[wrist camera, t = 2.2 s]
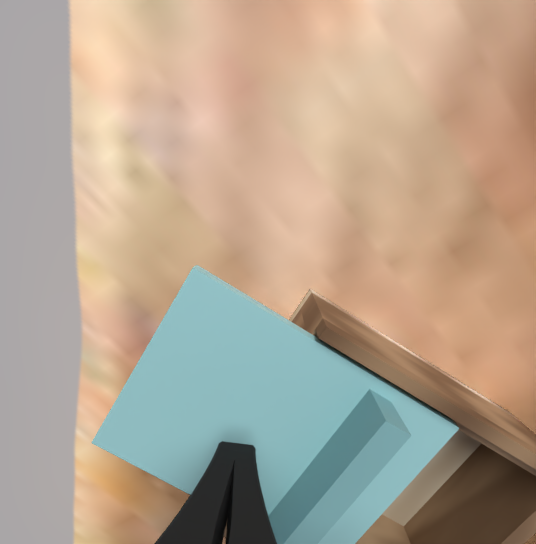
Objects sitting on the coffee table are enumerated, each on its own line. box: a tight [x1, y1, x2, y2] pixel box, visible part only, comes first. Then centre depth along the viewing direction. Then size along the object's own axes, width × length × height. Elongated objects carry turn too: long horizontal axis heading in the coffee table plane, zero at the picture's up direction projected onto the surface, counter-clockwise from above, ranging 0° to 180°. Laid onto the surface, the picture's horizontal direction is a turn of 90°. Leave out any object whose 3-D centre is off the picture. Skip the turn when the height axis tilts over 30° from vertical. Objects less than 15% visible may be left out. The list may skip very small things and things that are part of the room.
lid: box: [92, 265, 459, 544], centre depth 13 cm, size 14×10×3 cm
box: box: [223, 289, 536, 544], centre depth 17 cm, size 16×12×6 cm
